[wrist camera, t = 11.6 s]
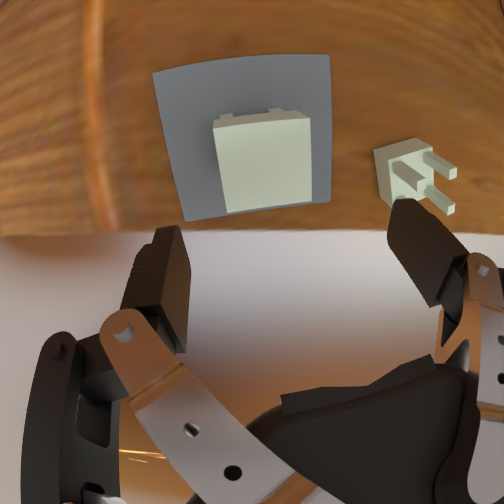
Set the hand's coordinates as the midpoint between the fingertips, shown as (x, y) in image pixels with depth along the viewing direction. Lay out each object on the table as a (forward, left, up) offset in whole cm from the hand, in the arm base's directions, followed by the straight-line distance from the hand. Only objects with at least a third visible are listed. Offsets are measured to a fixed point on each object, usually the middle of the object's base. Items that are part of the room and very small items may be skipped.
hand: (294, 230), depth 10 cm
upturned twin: (+4, +15, -15) cm, 22 cm away
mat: (0, 0, -15) cm, 15 cm away
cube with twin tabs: (0, 0, -14) cm, 14 cm away
